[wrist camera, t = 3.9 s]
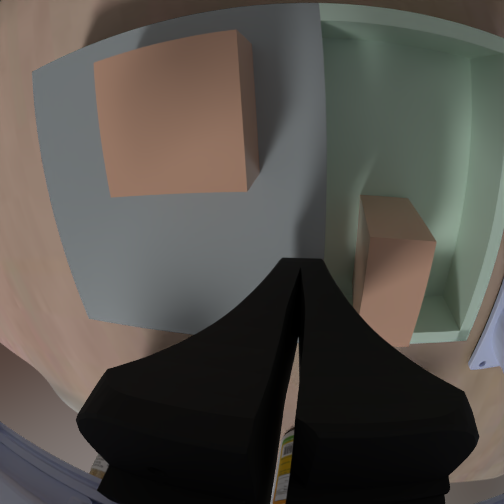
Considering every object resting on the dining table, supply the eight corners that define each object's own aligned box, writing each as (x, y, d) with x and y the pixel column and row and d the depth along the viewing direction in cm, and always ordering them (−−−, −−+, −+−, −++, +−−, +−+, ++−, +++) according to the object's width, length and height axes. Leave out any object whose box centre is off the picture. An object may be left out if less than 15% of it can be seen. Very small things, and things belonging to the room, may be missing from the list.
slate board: (316, 26, 9) (318, 3, 6) (317, 299, 14) (317, 343, 12) (75, 70, 11) (32, 71, 8) (116, 286, 16) (89, 318, 14)
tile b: (252, 43, 7) (236, 29, 6) (259, 173, 9) (247, 191, 7) (130, 65, 8) (93, 62, 6) (142, 179, 10) (110, 197, 8)
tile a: (359, 194, 11) (407, 198, 11) (352, 282, 13) (394, 284, 13) (370, 236, 8) (436, 241, 8) (353, 344, 10) (408, 347, 9)
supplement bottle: (335, 456, 22) (327, 555, 13) (275, 448, 22) (255, 550, 14) (360, 428, 19) (358, 547, 11) (290, 419, 20) (270, 544, 11)
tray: (476, 49, 8) (514, 42, 5) (447, 300, 13) (466, 340, 11) (316, 26, 9) (318, 3, 6) (317, 299, 14) (317, 343, 12)
